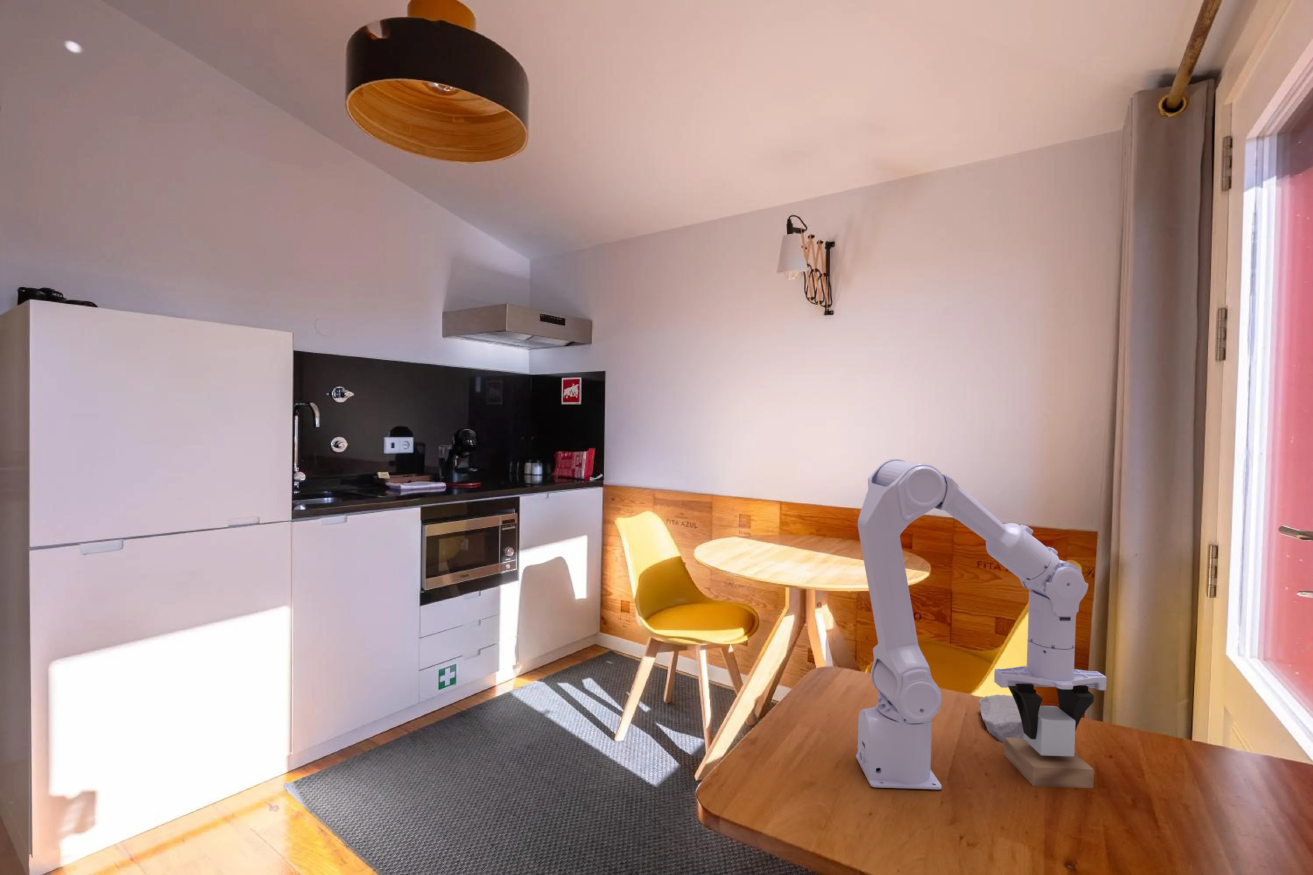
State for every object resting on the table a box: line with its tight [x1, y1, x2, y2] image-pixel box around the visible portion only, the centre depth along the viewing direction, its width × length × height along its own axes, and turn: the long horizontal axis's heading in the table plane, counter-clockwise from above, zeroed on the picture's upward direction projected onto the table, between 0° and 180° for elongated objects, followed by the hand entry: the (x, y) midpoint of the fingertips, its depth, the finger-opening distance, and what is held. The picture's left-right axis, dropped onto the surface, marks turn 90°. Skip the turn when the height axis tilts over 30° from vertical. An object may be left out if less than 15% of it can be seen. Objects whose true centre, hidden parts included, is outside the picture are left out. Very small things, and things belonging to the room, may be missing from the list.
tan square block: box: [1003, 738, 1095, 789], centre depth 91 cm, size 8×8×3 cm
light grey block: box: [1024, 705, 1076, 756], centre depth 90 cm, size 4×4×5 cm
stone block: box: [978, 694, 1024, 744], centre depth 103 cm, size 12×5×10 cm
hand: (1047, 736), depth 91 cm, fingers closed on light grey block, 4 cm apart
